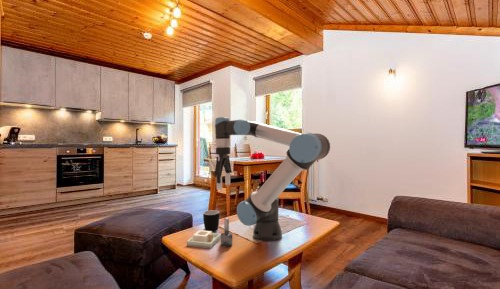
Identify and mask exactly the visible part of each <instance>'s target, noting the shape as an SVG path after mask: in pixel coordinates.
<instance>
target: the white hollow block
mask: <svg viewBox="0 0 500 289" xmlns="http://www.w3.org/2000/svg"><path fill="white" fill-rule="evenodd" d="M213 233H214V232H212V231H206V230H205V229H204V230H202V229H201V230H200V229H198V231H196V232H195V233H193V235H192V237H193V241H197V242H206V243H207V242H208V241H210V242H212V241H213Z"/></svg>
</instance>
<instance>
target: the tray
mask: <svg viewBox="0 0 500 289" xmlns="http://www.w3.org/2000/svg"><path fill="white" fill-rule="evenodd" d="M212 233H213V241H212V242H210V241H208V242H207V243H206V242H197V241H193V236H191V237H190V238H189V239H187V241H186V246H187V247H194V248H195V247H196V248H205V249H212V248H213V247H214V246H215V245H216V243H218V242H219V241H221V234H222V233H216V232H212Z"/></svg>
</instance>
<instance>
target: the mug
mask: <svg viewBox="0 0 500 289" xmlns="http://www.w3.org/2000/svg"><path fill="white" fill-rule="evenodd" d="M202 218H203V226H204V231H212V233H216V232H217V231H218V228H219V225H220V211H219V210H215V209H211V210H210V209H209V210H205V211H204V212H203V214H202Z"/></svg>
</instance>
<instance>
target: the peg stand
mask: <svg viewBox="0 0 500 289" xmlns="http://www.w3.org/2000/svg"><path fill="white" fill-rule="evenodd" d="M223 221H224V222H223V223H224V225H223V226H224V228H223V230H224V232H221V233H220V234H221V239H220V246H221V247H223V248H229V247H232V246H233V233H232V232H230V226H229V225H230V218H229V217H226V216H225V217H224V219H223Z"/></svg>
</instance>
